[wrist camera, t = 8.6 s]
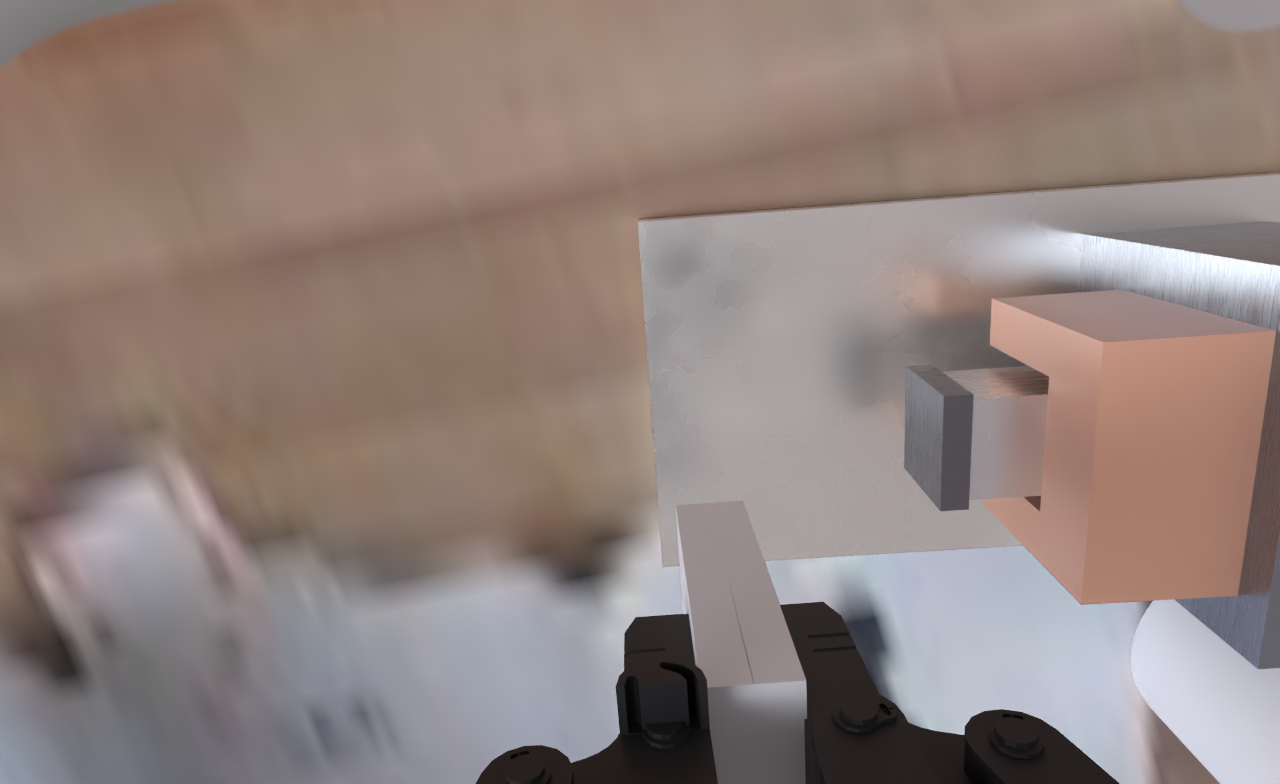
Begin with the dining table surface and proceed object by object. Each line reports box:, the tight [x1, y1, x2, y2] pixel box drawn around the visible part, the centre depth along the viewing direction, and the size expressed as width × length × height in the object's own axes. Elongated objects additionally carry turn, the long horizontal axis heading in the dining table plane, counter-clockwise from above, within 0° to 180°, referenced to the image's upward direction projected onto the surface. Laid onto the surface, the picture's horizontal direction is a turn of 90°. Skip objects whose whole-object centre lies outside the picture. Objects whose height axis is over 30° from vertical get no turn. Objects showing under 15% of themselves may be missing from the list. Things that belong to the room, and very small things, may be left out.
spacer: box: [982, 290, 1276, 605], centre depth 23 cm, size 4×7×6 cm, turn 4°
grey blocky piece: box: [638, 172, 1280, 669], centre depth 24 cm, size 22×13×11 cm, turn 94°
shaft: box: [904, 364, 1049, 511], centre depth 24 cm, size 17×3×3 cm, turn 94°
